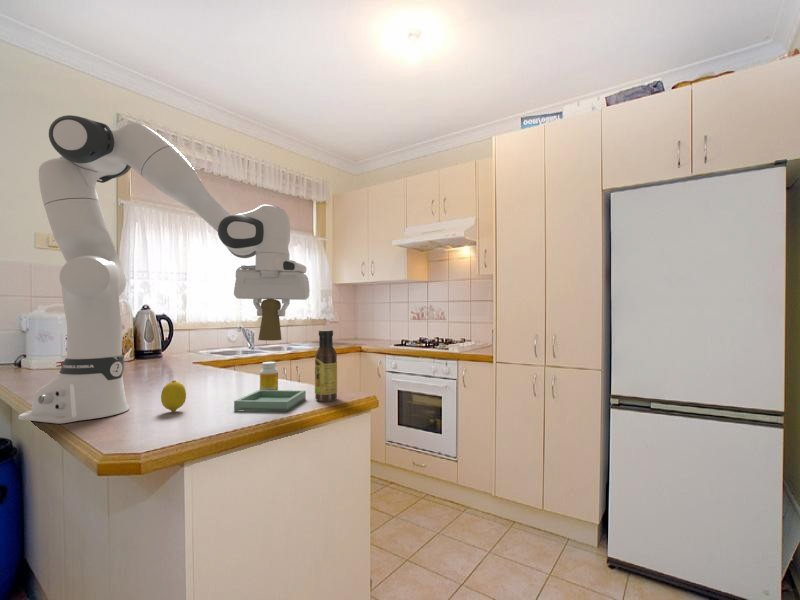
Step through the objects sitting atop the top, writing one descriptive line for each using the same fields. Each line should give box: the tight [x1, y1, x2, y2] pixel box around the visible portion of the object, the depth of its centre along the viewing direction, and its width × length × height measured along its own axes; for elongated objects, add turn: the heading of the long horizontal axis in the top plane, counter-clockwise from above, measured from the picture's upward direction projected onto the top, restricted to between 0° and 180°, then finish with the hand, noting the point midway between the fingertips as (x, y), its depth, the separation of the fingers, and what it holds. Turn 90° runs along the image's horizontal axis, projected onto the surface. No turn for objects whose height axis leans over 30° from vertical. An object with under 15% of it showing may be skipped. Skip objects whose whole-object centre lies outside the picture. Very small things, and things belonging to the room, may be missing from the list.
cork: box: [258, 299, 283, 342], centre depth 109 cm, size 6×6×11 cm
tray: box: [233, 389, 307, 413], centre depth 108 cm, size 14×14×2 cm
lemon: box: [160, 379, 187, 413], centre depth 102 cm, size 6×6×8 cm
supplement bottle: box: [259, 361, 279, 390], centre depth 123 cm, size 5×5×10 cm
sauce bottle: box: [314, 329, 338, 403], centre depth 114 cm, size 6×6×20 cm
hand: (271, 316), depth 109 cm, fingers closed on cork, 4 cm apart
